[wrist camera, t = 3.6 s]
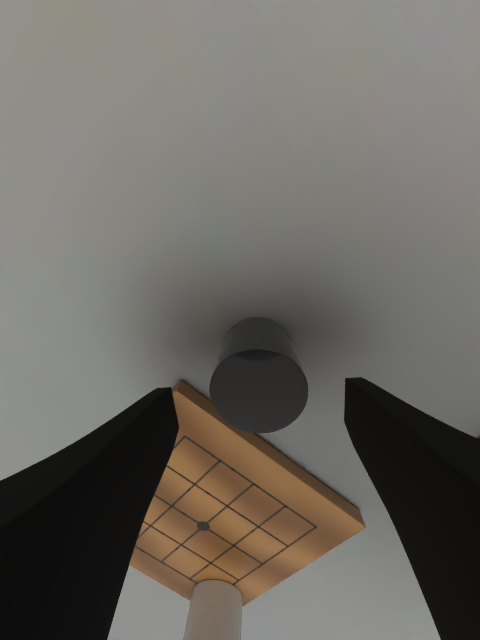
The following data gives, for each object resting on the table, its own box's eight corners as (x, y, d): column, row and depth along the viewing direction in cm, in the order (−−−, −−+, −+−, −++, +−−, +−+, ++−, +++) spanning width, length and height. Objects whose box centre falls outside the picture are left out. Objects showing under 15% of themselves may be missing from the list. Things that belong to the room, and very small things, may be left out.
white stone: (212, 572, 20) (199, 665, 15) (253, 597, 20) (251, 693, 16) (182, 594, 21) (162, 686, 16) (221, 617, 21) (212, 712, 17)
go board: (181, 380, 16) (175, 390, 15) (359, 509, 18) (366, 527, 17) (70, 509, 20) (59, 525, 19) (224, 600, 23) (222, 620, 21)
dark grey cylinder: (253, 302, 14) (252, 327, 10) (308, 347, 15) (329, 390, 10) (209, 353, 15) (190, 396, 11) (261, 393, 16) (263, 449, 11)
